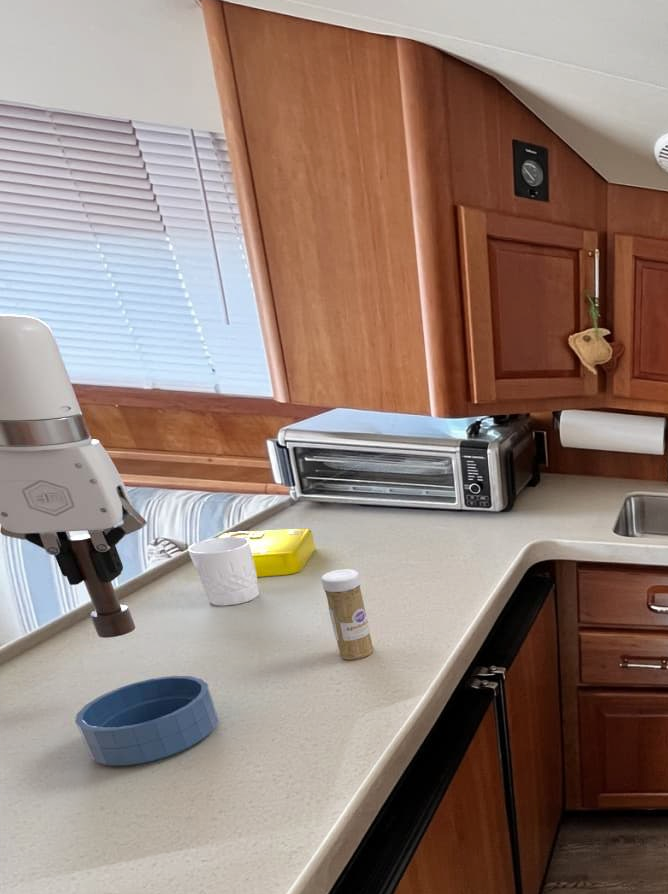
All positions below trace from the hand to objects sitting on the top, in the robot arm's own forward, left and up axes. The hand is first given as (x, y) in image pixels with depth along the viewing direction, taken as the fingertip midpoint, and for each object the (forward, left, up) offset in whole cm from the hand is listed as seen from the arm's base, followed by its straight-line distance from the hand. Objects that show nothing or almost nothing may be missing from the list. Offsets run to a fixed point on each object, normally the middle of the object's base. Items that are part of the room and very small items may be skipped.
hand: (96, 578), depth 79 cm
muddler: (0, 0, -8) cm, 8 cm away
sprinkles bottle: (+24, +4, -17) cm, 30 cm away
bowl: (+6, -12, -17) cm, 22 cm away
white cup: (+2, +30, -17) cm, 35 cm away
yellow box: (+2, +46, -17) cm, 49 cm away
